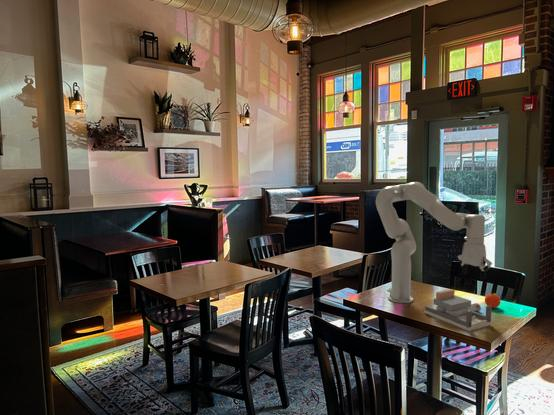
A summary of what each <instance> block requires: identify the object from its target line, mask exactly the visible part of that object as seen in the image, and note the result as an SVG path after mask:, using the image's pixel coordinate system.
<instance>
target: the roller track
mask: <svg viewBox="0 0 554 415" xmlns="http://www.w3.org/2000/svg"><path fill="white" fill-rule="evenodd" d="M492 309H493V308H492V306H487V305H486V306H485V315H484V314H482V313H479V312H474V311H471V310H468V308H467V307H465V308H461V309H456V310H452V311H451V310H448V309H446V308H443V307H440V306H438V305H436V307H432V306H429V305H424V314H427V315H428V316H432V317H433V318H436V319H438V320H441V321H442V322H445V323H448V324H451V325H453V326H456V327H458V328H460V329H463V330H465V331H468V332H470V331H473V330H477V329H481V328H485V327H489V326H491V322H492Z"/></svg>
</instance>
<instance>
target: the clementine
mask: <svg viewBox="0 0 554 415" xmlns="http://www.w3.org/2000/svg"><path fill="white" fill-rule="evenodd" d="M484 303H485V305H486V306H492V309H495V308H497V307H500V304H501V298H500V296H499V294H497V293H489V294H486V296H485V297H484Z"/></svg>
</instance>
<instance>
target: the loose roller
mask: <svg viewBox="0 0 554 415" xmlns="http://www.w3.org/2000/svg"><path fill="white" fill-rule="evenodd" d="M467 308H468V310H471V311H474V312H477V313H479V312H480V311H481V310H482V307H481V305H480V304H479V303H478V302H476V303H475V302H474V303H471V306H469V307H467Z"/></svg>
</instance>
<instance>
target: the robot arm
mask: <svg viewBox="0 0 554 415" xmlns="http://www.w3.org/2000/svg"><path fill="white" fill-rule="evenodd" d="M406 200H407V201H408V200H410V201H412V202H413V203H415V204H416V205H418V207H421V208H422V209H423V210H425V211H426V212H427V213H428V214H430V215H431V216H432V217H433V218H434V219H435V220H436V221H438V222H439V223H440V224H442V225H443V226H445V227H446V228H448V229H450V230H452V231H460V230H462V229H466V234H465V235H466V236H465V237H464V240H465V241H464V243H463V246H462V252H461V254H459V255H457V258H458V261H459V264H460V266H461V274H462V275H467V274H468V271H469V270H468V265H470V266H473V267H479V269H480V271H479V279H480V280H485V279H486V278H487V271H489V269H490V268H491V266H492V264H493V262H492V261H490V260H489V259H488V258H487V249H486V244H485V226H486V225H485V224H486V223H485V222H486V218H485V215H483V214H477V213H475V214H473V213H472V214H471V213H469V214H468V213H464V212H463V213H462V212H453V211H452V210H451V209H450V208H448V207H447V206H446V205H444V204H443V203H442V201H441V198H440V197H439V196H437V195H436V194H434V193H432V192H431V191H429V190H427V188H426V186H425V185H424V184H423V183H422V182H419V181H412V182H408V183H405V184H404V183H402V184H398V185H390V186H385V187H383V188H382V189H381V190H379V192H378V193H377V195H376V198H375V206H376V210H377V212H378V215H379V217H380V221H381V222H382V225H383V228H384V230H385V233H386V234H387V236H388V238H390V239H395V242H394V243H393V244H392V245H391V249H390V254H391V287H389V288H388V289H387V290H386V291H387V292H388V293H389V294H388V296H387V299H388V300H389V301H390V302H394V303H398V304H410V303H412V302H413V301H414V297H412V295H411V286H412V285H411V284H412V283H411V281H412V280H411V278H412V261H411V256H412V255H413V254H414V253H415V252H416V250H417V243H416V240H415V238H414V235H413V232H412V230H411V228H410V225H409V223H408V222H407V221H406V220H405V219H402V218H399V216H398V214H397V213H398V212H397V210H396V208H395V207H394V206H393V203H396V202H401V201H406Z"/></svg>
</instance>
